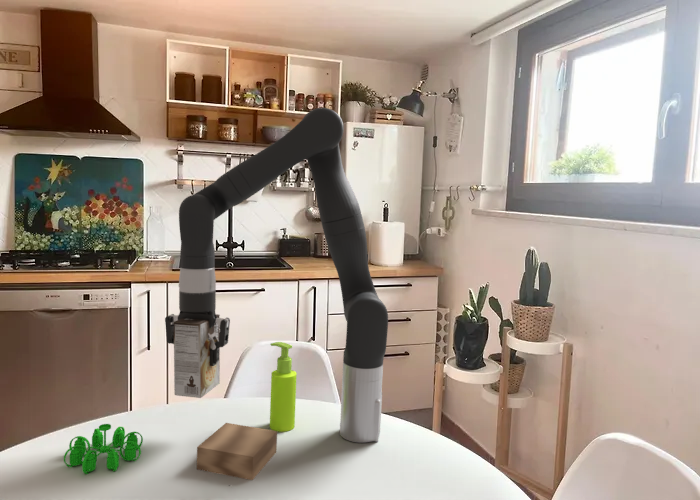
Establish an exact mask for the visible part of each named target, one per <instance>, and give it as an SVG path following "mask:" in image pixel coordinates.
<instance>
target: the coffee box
mask: <svg viewBox="0 0 700 500" xmlns="http://www.w3.org/2000/svg"><path fill="white" fill-rule="evenodd" d="M215 314H216V316H217V318H220V316H221V315H220V314H217V313H215ZM214 332H216V336H217V338H218V340H219V333H220V329H219V328H218V324H217V323H215V325H214V326H212V328H211V329H210V327H209V320H202V319H188V318H182V319H179V320H177V321H175V322H174V344H173V372H174V374H173V376H174V379H173V380H174V381H173V383H174V385H173V388H174V392H173V393H174V396H179V397H186V398H187V397H188V398H196V399H201V398H203V397H204V396H205V395H207V394H208V393H210V392H211V391H212V390H213V389H214V388H216V387H217V386H218V385H219V384H220V381H221V380H220V379H221V378H220V375H221V373H220V365H221V363H220V360H221V359H220V355H221V354H220V353H221V351H220V348H221V347H220V348H219V361H218V362H217V363H216V365H214V366H210V349H211V347H210V346H209V340H208V333H209V334H210V335H211V334H213V333H214Z"/></svg>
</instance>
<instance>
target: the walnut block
mask: <svg viewBox="0 0 700 500" xmlns="http://www.w3.org/2000/svg"><path fill="white" fill-rule="evenodd" d="M277 444H278V431H274V430H272V429H267V428H260V427H255V426H249V425H243V424H237V423H236V424H235V423H230V422H225V423H224V424H223V425H221V426H220V427H219V428H218V429H217V430H216V431H214V432H213V433H211V435H210V436H208V437H206V438H205V440H204V441H202V442H201V443H200V444H199V445H197V446H196V470H198V471H203V472H204V471H205V472H209V473H214V474H220V475H224V476H229V477H235V478H239V479H245V480H248V481H249V480H250V481H253V480H254V479H255V478H256V476H257V475H259V473H260V472H261V471H262V469H264V467H266V465H267V464H268V463H269V461H271V459H272V458H273V457H274V455H276V454H277V447H278V446H277Z"/></svg>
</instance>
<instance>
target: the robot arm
mask: <svg viewBox="0 0 700 500" xmlns="http://www.w3.org/2000/svg"><path fill="white" fill-rule="evenodd" d="M344 131H345V130H344V122H343V119H342V117H341V116H340V115H339V114H338V113H337V112H336V110H333V109H331V108H328V107H318V108H313V109H311V110H310V111H308V112H307V113H306V114H305V115H304V116H303V118H302V119H301V121H300V122H298V123H297V124H296V125H295V126H294V127H293V128H292V129H291V130H290V131H289V132H287V133H286V134H284V135H283V136H282V137H281V138H279V139H278V140H277V141H275V142H273V143H272V144H270V145H269V146H267V147H266V148H264V149H262V150H260V151H259V152H258V153H256V154H253V155H252V156H250V157H249V158H246V159H244V160H243V161H241V163H238V164H237V165H236V166H234V167H233V168H231V169H229V170H228V171H226V172H225V173H223V174H222V175H220V176H219V177H218V178H217V179H216V180H215V181H214V182H213V183H211V184H209V185H208V186H206V187H204V188H202V189H201V190H199V191H197V192H196V193H194V194H192V195H189V196H186V198H184V199H183V200H182V202H181V203H180V206H179V209H178V225H179V236H180V254H179V255H180V258H179V259H180V261H179V262H180V265H179V266H180V267H179V277H178V292H179V293H178V305H179V306H178V307H179V313H178V314H174V313H171V314H169V315H167V316H166V317H164V321H165V323H164V324H165V336H166V342H167V344H170V345H171V344H172V345H174V322H175V321H177V320H179V319H182V318H188V319H202V320H209V327H210V329H211V328H212V326H214V325H215V323H217V324H218V328H219V330H220V332H219V340H218V338H217V336H216V332H214V333H213V334H211V335H210V334H209V333H208V340H209V346H210V347H211V349H210V366H214V365H216V363H217V362H218V361H219V348H224V347H225V346H226V345H228V343H229V335H230V323H231V319H230V318H229V317H224V318H222V317H219V318H217V316H216V314H217V313H216V308H217V307H216V305H217V304H216V303H217V301H216V300H217V299H216V298H217V297H216V295H217V293H216V291H217V290H216V289H217V288H216V286H217V285H216V284H217V283H216V282H217V281H216V280H217V279H216V269H215V262H216V260H215V257H216V256H215V255H216V254H215V245H214V225H215V224H214V223H215V222H214V221H215V220H216V219H218V218H219V217H220V216H222V215H223V214H225V213H226V212H227V211H229V210H230V209H231V208H234V207H236V206H237V205H240V204H242V203H243V202H245V201H246V200H248V199H250V198H251V197H253V196H254V195H255V194H257V193H259V192H260V191H261V190H262V189H264V188H265V187H267V186H268V185H270V184H272V182H273V181H274V180H276V179H277V178H278V177H281V175H283V174H284V173H286V172H287V171H288V170H290V169H291V168H293V167H295V166H296V165H298V164H299V163H301V162H303V161H305V160H306V161H307V164H308V167H309V169H310V173H311V175H312V180H313V185H314V191H315V192H314V193H315V197H316V203H317V207H318V214H319V218H320V222H321V227H322V231H323V234H324V237H325V241H326V245H327V248H328V251H329V254H330V256H331V260H332V262H333V265H334V267H335V270H336V272H337V275H338V279H339V285H340V289H341V291H340V292H341V296H342V297H341V298H342V305H343V306H342V307H343V314H344V318H345V320H346V321H345V322H346V337H345V348H344V349H343V357H342V358H343V360H342V361H343V362H342V379H341V381H342V382H341V397H340V399H341V403H340V418H339V419H340V422H339V436H340V437H342V438H343V439H344V440H346V441H349V442H353V443H359V444H362V443H371V442H379V438H380V433H381V424H382V406H383V405H382V404H383V391H382V388H383V374H384V373H383V372H384V371H383V370H384V359H385V358H384V357H385V355H386V352H387V340H388V332H389V329H388V328H389V315H388V313H389V312H388V308H387V307H386V305H385V304H384V302H383V301H381V299H380V298H379V295H378V294H377V290H376V288H375V286H374V282H373V279H372V276H371V273H370V272H371V271H370V268H369V262H368V261H369V259H368V239H367V233H366V232H367V231H366V228H365V223H364V219H363V215H362V211H361V208H360V205H359V202H358V199H357V198H356V197H357V196H356V194H355V192H354V189H352V188H353V187H352V186H351V184H350V182H349V180H348V178H347V174H346V173H345V170H344V166H343V161H342V160H343V159H342V156H341V150H340V142H341V140H342V139H343V136H344Z"/></svg>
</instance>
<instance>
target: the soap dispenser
mask: <svg viewBox="0 0 700 500" xmlns="http://www.w3.org/2000/svg"><path fill="white" fill-rule="evenodd" d="M270 346H271V347H278V348H281V349H280V350H281V351H280V356H279V357H277V359H276V361H277V363H276V369H274V370H273V371H271V378H270V379H271V381H270V405H269V406H270V407H269V408H270V409H269V429H270V430H273V431H277V433H278V432H281V433H283V432H284V433H285V432H290V431H292V430H293V429H294V428H295V425H296V424H295V423H296V401H297V400H296V398H297V395H296V393H297V371H295V370H293V369H292V367H293V366H292V363H293V358H292V357H290V356H289V350H290V349H292V348H293V345H292V344H290V343H287V342H283V341H276V342H272V343H270Z"/></svg>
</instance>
